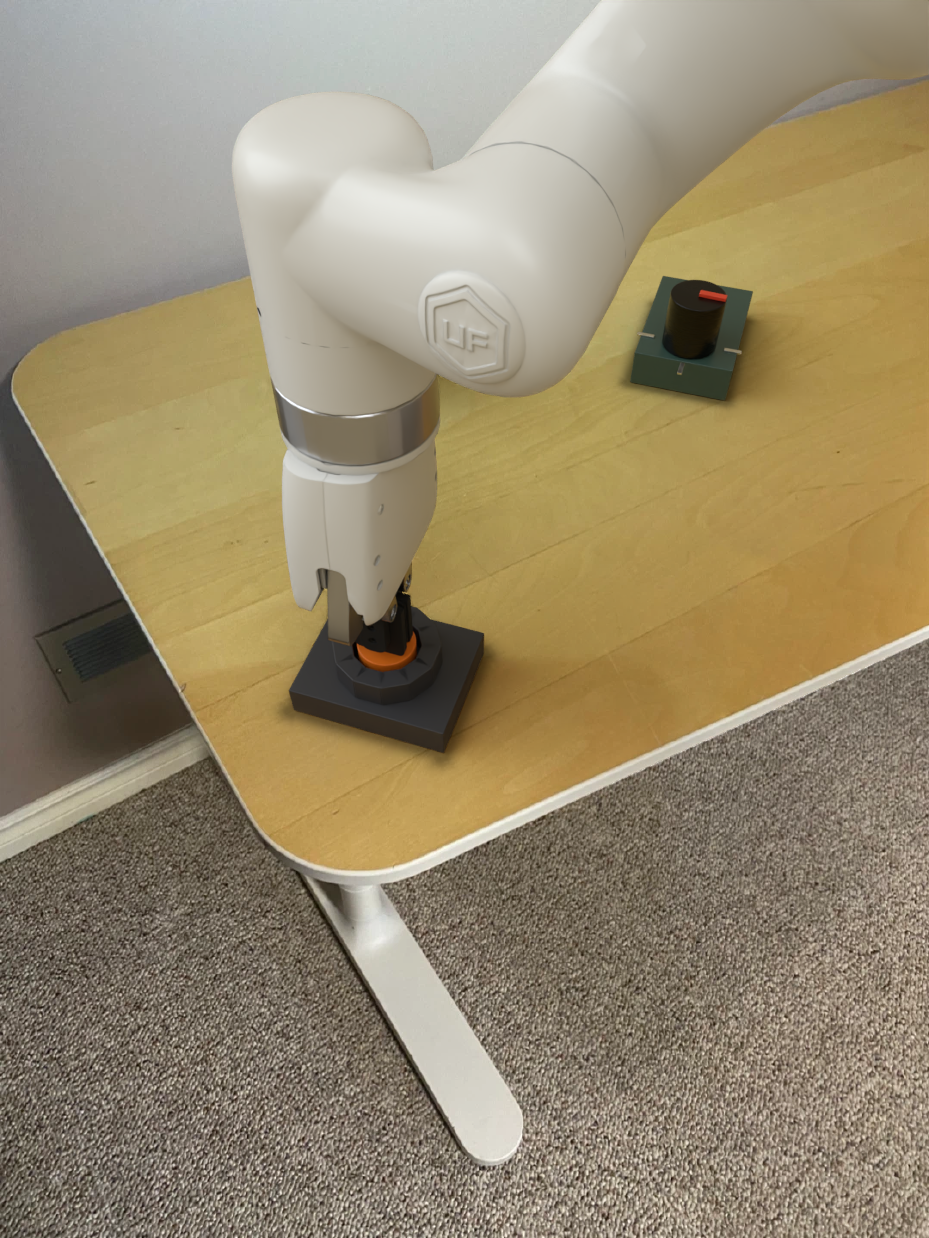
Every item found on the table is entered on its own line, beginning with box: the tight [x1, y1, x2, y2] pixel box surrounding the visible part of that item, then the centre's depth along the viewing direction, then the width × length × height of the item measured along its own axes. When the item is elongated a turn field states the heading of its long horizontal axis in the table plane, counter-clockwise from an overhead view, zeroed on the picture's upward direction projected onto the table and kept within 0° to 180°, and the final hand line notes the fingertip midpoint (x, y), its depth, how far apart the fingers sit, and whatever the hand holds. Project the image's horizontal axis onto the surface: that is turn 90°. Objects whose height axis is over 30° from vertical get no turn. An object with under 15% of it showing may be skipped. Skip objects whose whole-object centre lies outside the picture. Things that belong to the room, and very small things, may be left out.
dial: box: [662, 279, 727, 359], centre depth 77 cm, size 4×4×5 cm
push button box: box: [288, 605, 485, 754], centre depth 60 cm, size 10×8×4 cm
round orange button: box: [357, 632, 417, 672], centre depth 59 cm, size 4×4×2 cm
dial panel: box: [629, 275, 754, 401], centre depth 82 cm, size 14×9×3 cm, turn 162°
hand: (384, 640), depth 58 cm, fingers closed
